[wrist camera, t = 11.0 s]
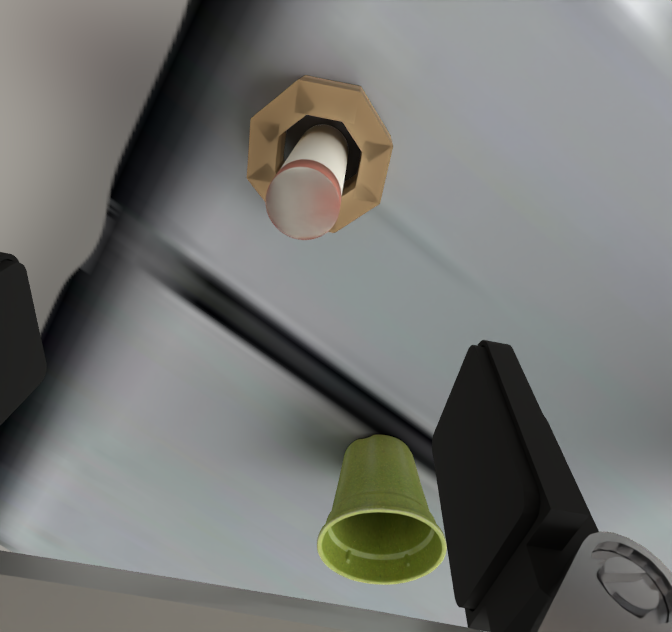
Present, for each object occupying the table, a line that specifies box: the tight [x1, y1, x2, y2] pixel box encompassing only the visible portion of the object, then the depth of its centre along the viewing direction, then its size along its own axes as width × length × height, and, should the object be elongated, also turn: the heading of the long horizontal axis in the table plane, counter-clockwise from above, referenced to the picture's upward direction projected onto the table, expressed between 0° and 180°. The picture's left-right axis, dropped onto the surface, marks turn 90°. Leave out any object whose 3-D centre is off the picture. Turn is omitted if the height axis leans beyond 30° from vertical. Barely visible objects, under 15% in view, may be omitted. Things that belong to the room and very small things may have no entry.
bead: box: [247, 75, 393, 233], centre depth 25 cm, size 8×8×3 cm
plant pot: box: [317, 435, 447, 585], centre depth 37 cm, size 9×9×9 cm
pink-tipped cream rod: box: [266, 124, 349, 240], centre depth 23 cm, size 3×3×10 cm
